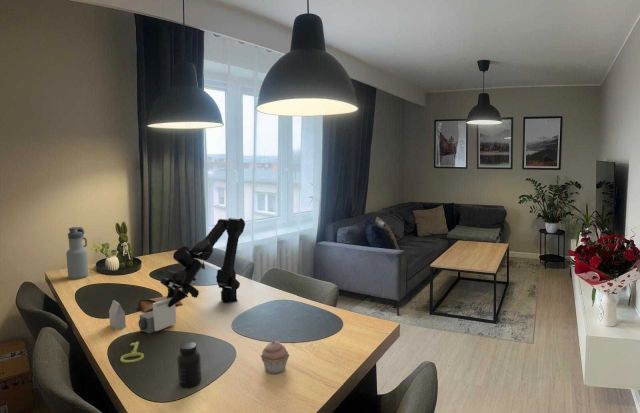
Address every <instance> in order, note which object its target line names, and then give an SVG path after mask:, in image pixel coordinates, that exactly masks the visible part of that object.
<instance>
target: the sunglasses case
mask: <svg viewBox="0 0 640 413" xmlns="http://www.w3.org/2000/svg"><path fill="white" fill-rule="evenodd" d="M166 298H167V295H166V296H165V295H163V296H159V297H154V298H150V299H141V300H139V302H138V309H139V310H140V311H141V312H142V314H144V313H147V312H150V311H153V303H155V302H158V301H162V300H165V299H166ZM183 305H184V304H183V303H182V300H180V301H179V302H177V303H176V304H175V307H179V306H180V307H181V306H183Z"/></svg>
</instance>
